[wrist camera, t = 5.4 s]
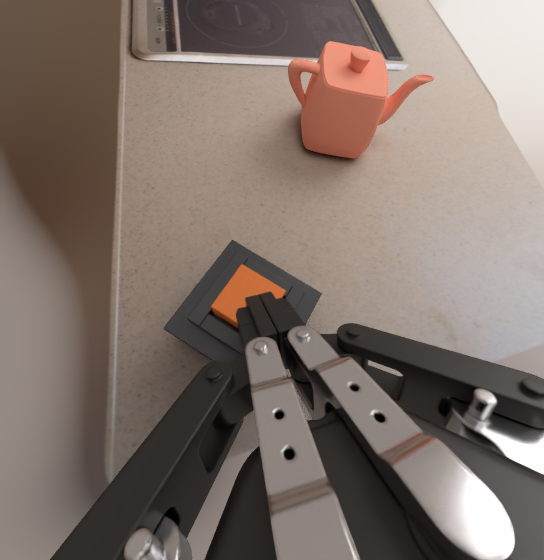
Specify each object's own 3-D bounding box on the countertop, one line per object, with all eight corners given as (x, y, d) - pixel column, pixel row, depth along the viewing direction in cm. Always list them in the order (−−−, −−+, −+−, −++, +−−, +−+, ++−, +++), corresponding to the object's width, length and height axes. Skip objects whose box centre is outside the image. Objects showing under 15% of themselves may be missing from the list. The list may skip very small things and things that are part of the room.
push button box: (261, 389, 23) (270, 399, 17) (178, 335, 24) (155, 325, 17) (307, 306, 27) (328, 287, 20) (233, 261, 27) (231, 229, 21)
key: (256, 340, 18) (258, 337, 16) (213, 313, 19) (210, 306, 16) (281, 298, 20) (286, 290, 18) (241, 274, 20) (241, 263, 18)
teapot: (282, 99, 38) (296, 8, 28) (386, 120, 40) (433, 41, 30) (275, 151, 34) (290, 66, 24) (391, 172, 36) (448, 101, 26)
